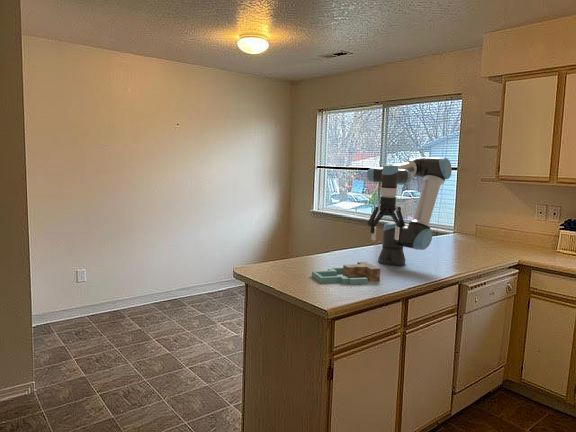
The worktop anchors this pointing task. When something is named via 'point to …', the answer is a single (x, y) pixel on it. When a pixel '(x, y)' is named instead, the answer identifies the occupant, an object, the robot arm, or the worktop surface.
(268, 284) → the worktop surface
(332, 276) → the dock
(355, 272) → the t block
